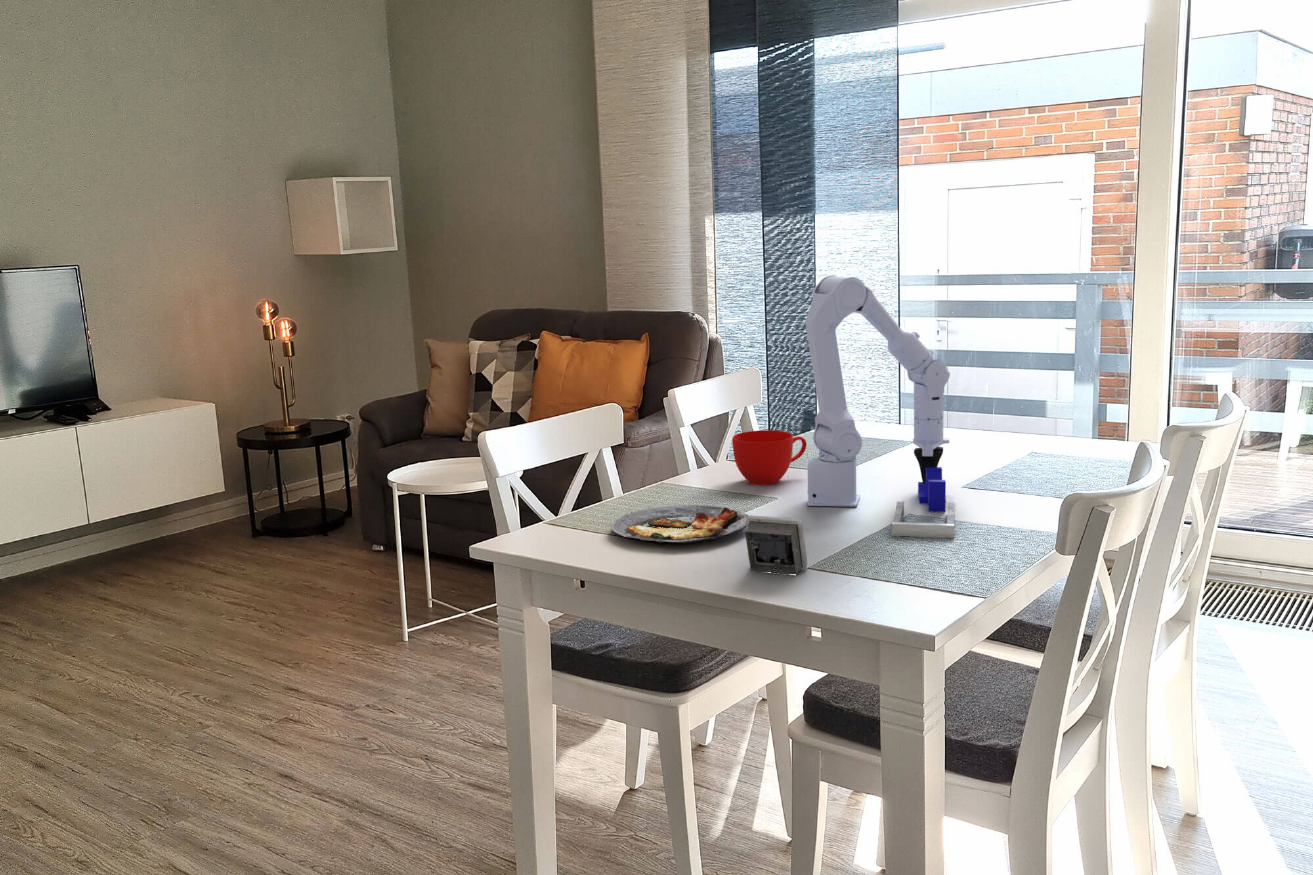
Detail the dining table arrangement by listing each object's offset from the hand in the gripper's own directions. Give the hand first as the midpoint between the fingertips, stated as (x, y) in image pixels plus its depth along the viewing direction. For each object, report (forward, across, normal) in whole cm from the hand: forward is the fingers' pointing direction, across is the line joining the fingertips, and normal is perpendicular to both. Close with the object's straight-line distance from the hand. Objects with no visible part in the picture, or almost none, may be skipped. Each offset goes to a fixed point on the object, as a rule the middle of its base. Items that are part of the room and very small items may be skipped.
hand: (928, 483), depth 218 cm
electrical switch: (+2, -54, +22) cm, 59 cm away
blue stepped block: (+2, -10, -1) cm, 10 cm away
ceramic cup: (+2, +6, +33) cm, 34 cm away
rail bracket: (+1, -24, 0) cm, 25 cm away
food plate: (+2, -34, +43) cm, 55 cm away
